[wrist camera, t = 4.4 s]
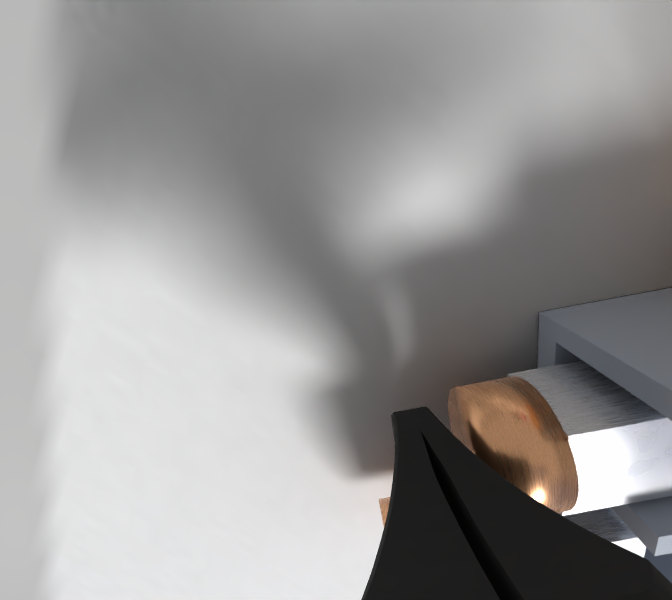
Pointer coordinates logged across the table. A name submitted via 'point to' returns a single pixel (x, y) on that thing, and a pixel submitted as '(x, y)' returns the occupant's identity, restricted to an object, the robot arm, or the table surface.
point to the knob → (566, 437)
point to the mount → (623, 380)
